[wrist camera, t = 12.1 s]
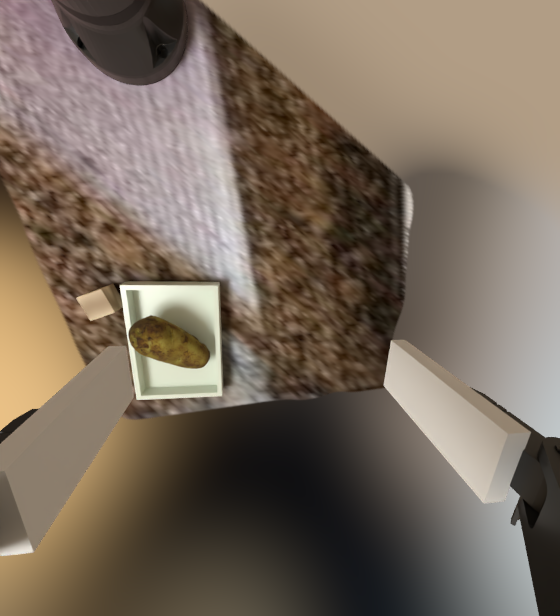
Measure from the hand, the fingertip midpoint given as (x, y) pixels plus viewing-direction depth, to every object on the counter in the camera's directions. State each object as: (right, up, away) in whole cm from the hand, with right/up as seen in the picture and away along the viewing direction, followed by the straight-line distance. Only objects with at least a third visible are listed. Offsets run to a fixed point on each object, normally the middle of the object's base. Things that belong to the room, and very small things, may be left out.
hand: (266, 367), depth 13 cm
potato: (-18, -2, +35) cm, 39 cm away
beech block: (-28, +5, +32) cm, 43 cm away
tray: (-18, -3, +35) cm, 39 cm away
